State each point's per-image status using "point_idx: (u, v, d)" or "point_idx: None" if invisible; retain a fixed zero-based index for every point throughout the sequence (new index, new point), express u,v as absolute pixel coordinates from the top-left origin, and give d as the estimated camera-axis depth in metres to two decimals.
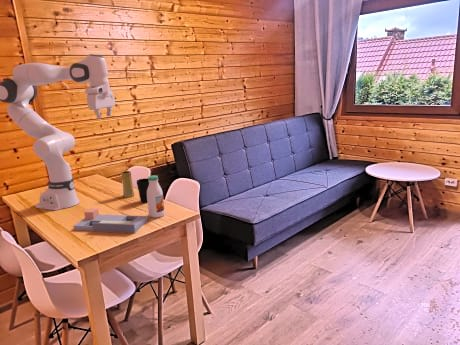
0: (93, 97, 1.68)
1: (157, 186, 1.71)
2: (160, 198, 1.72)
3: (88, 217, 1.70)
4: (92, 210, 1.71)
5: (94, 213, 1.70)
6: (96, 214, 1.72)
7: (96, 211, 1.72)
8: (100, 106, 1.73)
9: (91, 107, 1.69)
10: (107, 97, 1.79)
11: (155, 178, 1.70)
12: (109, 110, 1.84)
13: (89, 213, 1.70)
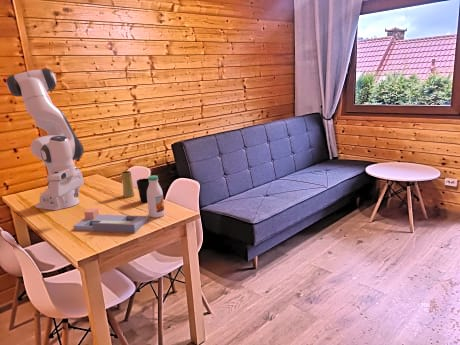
0: (55, 184, 1.55)
1: (157, 186, 1.71)
2: (160, 198, 1.72)
3: (88, 217, 1.70)
4: (92, 210, 1.71)
5: (94, 213, 1.70)
6: (96, 214, 1.72)
7: (96, 211, 1.72)
8: (64, 192, 1.60)
9: (53, 195, 1.56)
10: (73, 179, 1.67)
11: (155, 178, 1.70)
12: (76, 191, 1.71)
13: (89, 213, 1.70)
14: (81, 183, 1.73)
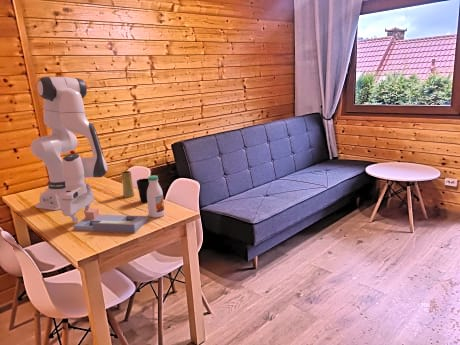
0: (67, 203, 1.57)
1: (157, 186, 1.71)
2: (160, 198, 1.72)
3: (88, 217, 1.70)
4: (92, 210, 1.71)
5: (94, 213, 1.70)
6: (96, 214, 1.72)
7: (96, 211, 1.72)
8: (76, 210, 1.62)
9: (65, 214, 1.58)
10: (84, 196, 1.69)
11: (155, 178, 1.70)
12: (87, 207, 1.73)
13: (89, 213, 1.70)
14: (92, 200, 1.74)
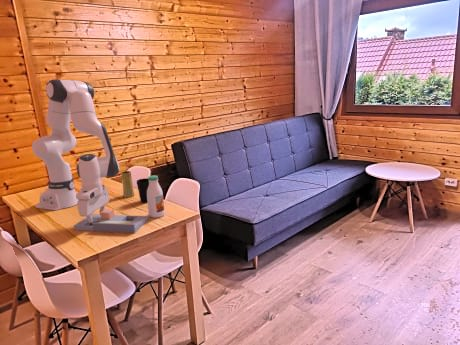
0: (84, 204, 1.55)
1: (157, 186, 1.71)
2: (160, 198, 1.72)
3: (104, 218, 1.69)
4: (108, 211, 1.70)
5: (110, 214, 1.69)
6: (112, 215, 1.71)
7: (112, 212, 1.70)
8: (92, 210, 1.60)
9: (82, 214, 1.56)
10: (100, 196, 1.67)
11: (155, 178, 1.70)
12: (102, 208, 1.72)
13: (105, 214, 1.68)
14: (107, 200, 1.73)
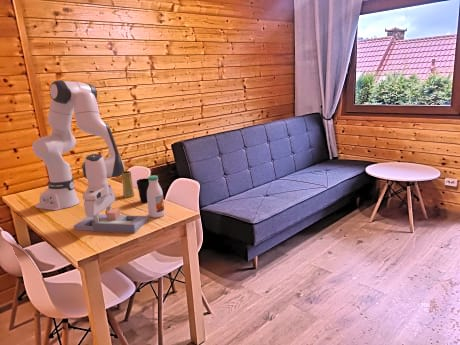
0: (91, 204, 1.55)
1: (157, 186, 1.71)
2: (160, 198, 1.72)
3: (110, 218, 1.68)
4: (114, 211, 1.69)
5: (116, 214, 1.68)
6: (118, 215, 1.70)
7: (118, 212, 1.70)
8: (98, 211, 1.60)
9: (89, 214, 1.56)
10: (106, 197, 1.67)
11: (155, 178, 1.70)
12: (108, 208, 1.71)
13: (111, 214, 1.67)
14: (113, 200, 1.72)
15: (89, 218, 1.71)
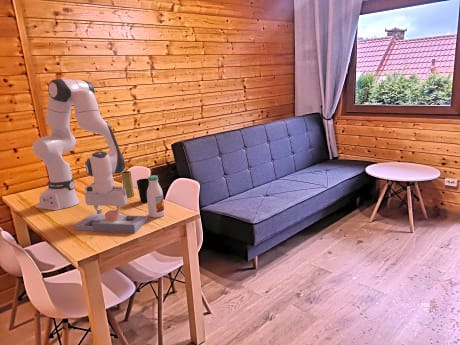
0: None
1: (157, 186, 1.71)
2: (160, 198, 1.72)
3: (109, 219, 1.67)
4: (113, 212, 1.68)
5: (115, 215, 1.67)
6: (117, 216, 1.69)
7: (117, 213, 1.69)
8: (94, 203, 1.70)
9: None
10: (109, 196, 1.68)
11: (155, 178, 1.70)
12: None
13: (110, 215, 1.66)
14: (120, 203, 1.68)
15: (89, 218, 1.71)
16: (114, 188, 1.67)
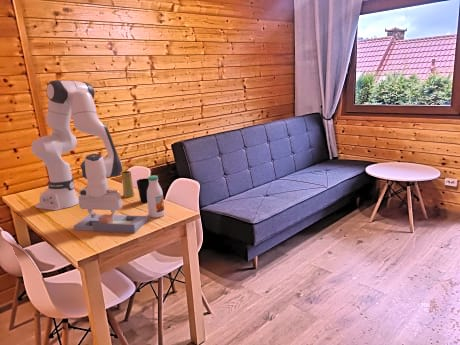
0: None
1: (157, 186, 1.71)
2: (160, 198, 1.72)
3: None
4: (106, 216, 1.63)
5: (108, 219, 1.62)
6: (111, 220, 1.64)
7: (111, 217, 1.64)
8: (88, 207, 1.65)
9: None
10: (104, 200, 1.63)
11: (155, 178, 1.70)
12: None
13: (103, 219, 1.61)
14: (114, 208, 1.63)
15: (89, 218, 1.71)
16: (108, 192, 1.63)
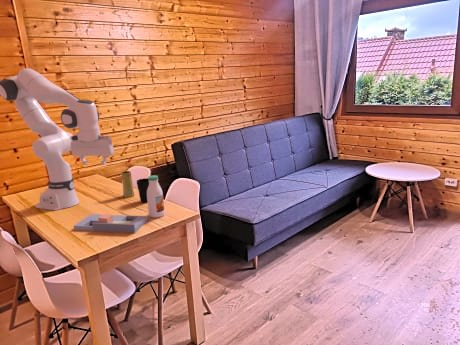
0: None
1: (157, 186, 1.71)
2: (160, 198, 1.72)
3: None
4: (106, 216, 1.63)
5: (108, 219, 1.62)
6: (110, 220, 1.64)
7: (110, 217, 1.64)
8: (80, 153, 1.67)
9: None
10: (95, 145, 1.64)
11: (155, 178, 1.70)
12: None
13: (103, 219, 1.61)
14: (105, 153, 1.64)
15: (89, 218, 1.71)
16: (100, 137, 1.64)
